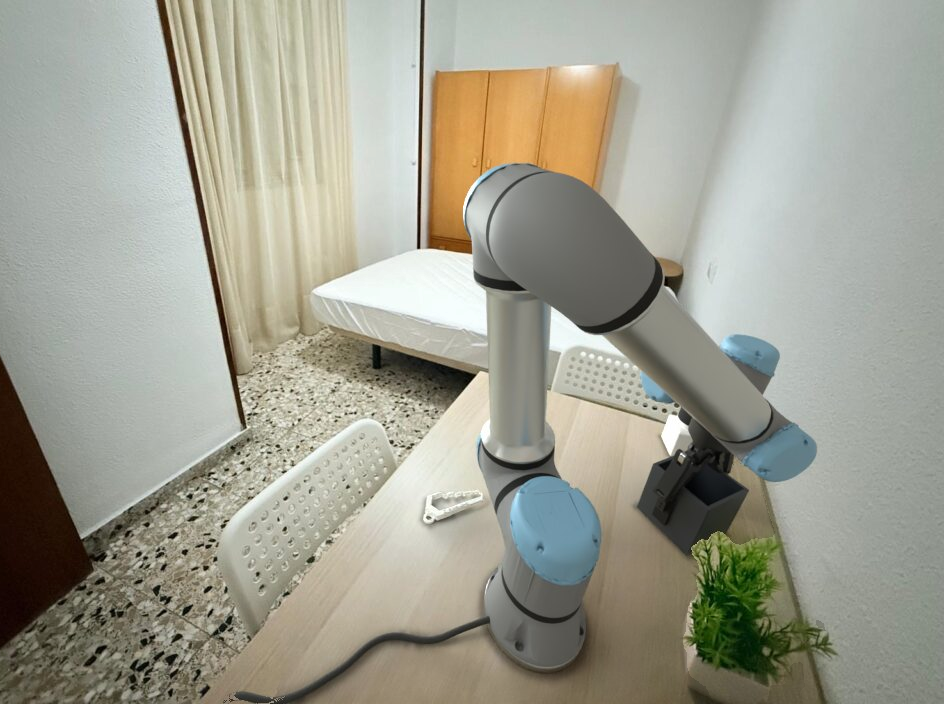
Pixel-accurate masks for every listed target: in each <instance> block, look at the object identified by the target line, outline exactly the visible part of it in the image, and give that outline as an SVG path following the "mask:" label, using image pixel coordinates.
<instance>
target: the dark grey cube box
mask: <svg viewBox="0 0 944 704" xmlns="http://www.w3.org/2000/svg"><path fill="white" fill-rule="evenodd" d="M684 452H685V451H684ZM673 458H674V456H669V457H666V458H663V459H661V460H658V461H656V462H653V463H652V466H651V468H650V471H649V473H648V476H647V479H646V481H645V485H644V487H643V490H642V493H641V495H640V498H639V501H638V503H637V506H636V509H638V510H639V511H640V512H641V513H642V514H643V516H645V517H646V518H647V519H648V520H649V521H650V522H651V523H652V524H653V525H654V526H655V527H656V528H657V529H658V530H659V531H660V532H661V533H662V534H663V535H664V536H665V537H666V538H667V539H668V540H669V541H670V542H672V544H673V545H674V546H676V547H677V549H679V551H680V552H681V553H683V554H684V555H685V556H689V555H690V554H692V553H693V552H692V550H691V547H692V546H693V545H695V544H697V542H698V541H699V540H701V539H704V540H708V539H709V537H710V536H711V534H713V533H715V532H717V531H720V532H723V533H724V534H726V535H727V533H728V531H729V529H730V527H731V526H732V524H733V521H734V520H735V518H736V517H737V514H738V513H739V510H740V509H741V507H742V505H743V503H744V502H745V499H746V498H747V496H748V495H749V492H750V489H748V488H747V487H746V486H744V484H742V483H740V482H739V481H737V480H736V479H735V478H734V477H732V476H731V475H729V474H727V473H725V472H724V471H722V470H720V471H719V473H717V472H716V471H715V470H713V469H712V468H711V467H709V466H708V465H707V466H706V467H705V468H704V469H703V471H702V472H701V473H700V474H695V475H694V476H693V477H692V479H691V480H690V481H689V482H688V483H687V485H686V486H685V487H682V488H681V490H680V493H679V494H678V496H677V497H676V498H675V499H676V500H677V502H676V504H675V507H674V509H673V511H672V513H671V516H670V518H669V520H668V523H667V525H665V526H664V525H663V524H662V523H660V522H659V521H658V520H657V519H656V518H655V517H654V516H653V515H652V513H653V510H654V508H655V505H656V503H657V500H658V498H659V497H658V496H657V495H656V494H655V493H654V492H653V489H654V488H655V486H656V485H657V483H658V482H659V480H660V479H661V477H662V475H663V474H664V472H665V471H666V469H667V468H668V466H669V465H670V463H671V461H672V460H673ZM692 465H693V466H695V467H696V468H697V467H698V466H697V465H696V464H695V463H693V464H692Z"/></svg>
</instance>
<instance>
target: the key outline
mask: <svg viewBox="0 0 944 704" xmlns="http://www.w3.org/2000/svg"><path fill="white" fill-rule="evenodd" d="M478 494H479V495H480V496H478V497H475V498H472V499H469V500H466V501H463V502H460V503H458V504H455V505H452V506H449V507H446V508H444V509H440V510H439V509H438V508H436V507H435V506H433V505H432V502H433V501H434V500H438V499H440V498H443V499H444V500H447V499H449V498H454V499H457V498H458V497H461V496H462V497H465V496H468V495H469V496H470V495H478ZM483 501H484V493H483V492H482V491H479V490H478V489H473V490H472V489H471V490H465V491H462V490H459V491H456V492H454V491H453V490H452V491H448V492H446V493H444V492H443V491H437V492H434V493H430V494H428V495H427V496H426V501H425V507H424V514H423V516H422V517H423V518H422V520H423V522H424V523H425V524H427V525H431V524H433V523H434V522H435V521H440V520H443V519H446V518H448V517H451V516H452V515H454V514H458V513H460V512H462V511H464V510H466V509H469V508H470V507H472V506H475V505H478V504H480V503H483ZM428 517H430V518H431V519H427V518H428Z"/></svg>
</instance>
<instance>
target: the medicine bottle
mask: <svg viewBox="0 0 944 704" xmlns="http://www.w3.org/2000/svg"><path fill="white" fill-rule="evenodd" d="M691 419H692V417H691V416H690V415H689V414H688V413H687V412H686V411H685V410H684V409H683V408H682V407H681V406H680V409H679V411H678V413H677V414H668V417H667V420H666V422H665V425H664V429H663V430H662V433H661V435H660V436H661V439H662V441H663V443H664V446H665V448H666V450H667V453H668V455H669V457H671V456H674V455H675V452H676V451H677V450H678V449H681V450H682V451H687V449H688V446H689V445H690V443H691V442H693V440H692V438H691V435H690V434H689V431H688V427H689V424H690V421H691Z"/></svg>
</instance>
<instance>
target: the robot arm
mask: <svg viewBox="0 0 944 704" xmlns="http://www.w3.org/2000/svg"><path fill="white" fill-rule="evenodd" d="M462 213H463V214H462V215H463V216H462V217H463V225H464V227H465V231H466V233H467V235H468V237H469V238H470V239H471V251H472V252H471V253H472V269H473V274H472V275H473V281H474V283H475V284H476V285H477V286H479V287H480V288H481V289H482V290H484V291H485V308H486V309H485V310H486V339H487V368H488V369H487V370H488V371H487V372H488V391H489V392H488V397H489V419H487V420H486V422H485V423H484V424H483V426H482V429H481V431H480V433H479V435H478V437H477V440H476V449H475V450H476V458H477V464H478V468H479V469H480V471H481V475H482V477H483V479H484V483H485V485H486V489H487V491H488V495H489V497H490V500H491V505H492V507H493V510H494V513H495V517H496V519H497V523H498V526H499V528H500V531H501V535H502V538H503V542H504V552H503V558H502V562H501V563H500V564H499V565H498V566H497V567H496V568H495V570H494V571H493V572H492V573H491V575H490V577H489V579H488V581H487V583H486V586H485V591H484V598H483V617H480V618H478V619H475V620H473V621H469V622H466V623H464V624H462V625H459V626H457V627H455V628H452V629H450V630H448V631H445V632H444V633H440V634H438V635H437V634H436V635H432V636H420V635H415V634H411V633H405V632H395V631H394V632H388V633H383V634H381V635H378V636H376V637H373V638H372V639H371V640H369V641H367V642H366V643H365V644H364V645H362V646H361V647H360V648H359V649H358V650H357V651H356V652H354V653H353V654H352V655H351V656H350V657H349V658H347V660H345V661H344V662H343V663H342V664H340V665H338V666H337V667H336V668H334V669H333V670H331V671H330V672H328V673H326V674H325V675H323V676H322V677H319V678H318V679H316V680H315V681H313V682H311V683H310V684H308V685H306V686H305V687H302V688H301V689H298V690H296V691H293V692H290V693H287V694H283V695H280V696H279V695H278V696H272V697H273V699H271V698H270V697H271V696H267V695H261V694H257V693H254V692H251V691H250V692H249V691H244V690H243V691H242V690H239V692H238V691H235V692H236V694H235V695H234V696H235V697H236V698H238V699H239V700H238V701H242V700H244V702H247V701H248V703H251V704H256V703H257V704H258V703H269V702H271V701H274V703H270V704H288V703H289V704H290V703H292V702H294V701H297V700H300V699H302V698H304V697H306V696H308V695H310V694H311V693H313V692H315V691H316V690H318V689H320V688H321V687H323V686H324V685H326V684H328V683H329V682H331V681H332V680H334V679H335V678H337V677H338V676H340V675H342V674H343V673H344V672H346V671H347V670H348V669H349V668H350V667H352V666H353V665H354V664H355V663H357V662H358V660H359V659H360V658H361V657H363V655H365V654H366V653H367V652H369V650H371V649H373V648H374V647H376V646H377V645H379V644H382V643H384V642H388V641H403V642H409V643H414V644H418V645H419V644H420V645H433V644H439V643H443V642H445V641H447V640H450V639H452V638H454V637H457V636H459V635H460V634H462V633H463V634H464V633H466V632H468V631H471V630H473V629H476V628H479V627H482V626H485V625H486V627H487V630H488V632H489V634H490V636H491V638H492V639H493V641H494V643H495V645H496V646H497V647H498V648H499V650H500V651H501V652H502V653H503V654H504V655H505V656H506V657H507V658H508V659H509V660H510V661H512V662H514V663H515V664H516V665H518V666H519V667H522V668H524V669H526V670H528V671H532V672H535V673H541V674H551V673H556V672H557V673H558V672H560V671H563V670H565V669H566V668H567V667H569V666H570V665H571V664H572V663H574V661H575V660H576V659H577V657H578V656H579V654H580V653H581V651H582V648H583V644H584V641H585V638H586V633H587V632H586V631H587V618H586V612H585V606H584V601H583V600H584V597H585V595H586V591H587V589H588V587H589V583H590V581H591V579H592V576H593V573H594V570H595V569H596V566H597V564H598V563H597V562H598V561H599V558H600V553H601V550H600V548H601V542H602V526H601V522H600V518H599V515H598V512H597V510H596V509H595V506H594V504H593V503H592V501H591V500H590V498H588V497H587V495H586V494H585V493H584V492H582V491H581V489H579V488H578V487H575V488H573V487H572V486H571V483H570V482H569V481H567V480H565V479H563V477H562V476H561V475H560V473H559V471H558V468H557V467H556V463H555V451H556V449H555V448H556V434H555V432H554V429H553V428H552V426H551V425H550V424H549V423H548V422H547V408H548V407H547V405H548V404H547V403H548V388H549V387H548V386H549V385H548V384H549V383H548V382H549V365H550V364H549V363H550V345H551V343H550V342H551V321H552V308H553V309H554V310H555V311H557V312H559V313H560V314H561V315H562V316H564V317H565V318H567V320H569V321H570V322H571V323H573V324H574V325H575V326H576V327H577V328H578V329H579V330H580V331H582V332H583V333H586V334H588V335H593V336H602V337H603V338H604V339H605V340H606V341H608V342H609V344H611V345H612V346H613V347H614V348H615V349H617V350H618V351H619V353H621V354H622V355H623V356H624V357H625V358H626V359H627V360H629V361H630V362H631V363H632V364H633V365H634V366H635V367H636V368H638V369H639V371H640V381H641V386H642V389H643V391H644V392H645V394H646V395H647V396H648V398H649V399H651V400H652V401H654V402H657V403H664V404H669V405H670V404H673V403H674V404H677V405H678V406H679V407H680V408H681V407H682V408H683V409H684V410H685V411H686V412H687V413H688V414H689V415H690V416H691V417H692V419H691V421H690V424H689V427H688V431H689V434H690V435H691V438H692V440H693V442H691V443H690V445H689V446H688V449H687V451H685V452H684V451H682V450H681V449H678V450H677V451H676V452H675V455H674V458H673V460H672V461H671V463H670V465H669V466H668V468H667V469H666V471H665V472H664V474H663V475H662V477H661V479H660V480H659V482H658V483H657V485H656V486H655V488H654V489H653V492H654V493H655V494H656V495H657V496H658V497H659V498H658V500H657V503H656V505H655V508H654V510H653V513H652V515H653V516H654V517H655V518H656V519H657V520H658V521H659V522H660V523H662V524H663V525H664V526H665V525H667V523H668V520H669V518H670V516H671V513H672V511H673V509H674V507H675V504H676V502H677V500H676V499H675V498H676V497H677V496H678V494H679V493H680V490H681V488H682V487H685V486H686V485H687V483H688V482H689V481H690V480H691V479H692V477H693V476H694V475H695V474H700V473H701V472H702V471H703V469H704V468H705V467H706V466H707V465H708V466H709V467H711V468H712V469H713V470H715V471H716V472H717V473H719V471H720V470H722V471H724V472H725V473H727V474H728V475H729V474H731V471H732V469H733V463H734V458H736V459H737V460H738V461H739V462H740V463H741V464H742V465H743V466H744V467H747V468H748V469H749V470H750V471H751V472H753V473H754V474H755V475H756V476H757V477H758V478H760V479H762V480H763V481H766V482H770V483H771V482H772V483H781V482H786V481H789V480H791V479H794V478H795V477H797V476H798V475H800V474H802V473H803V472H804V471H805V470H807V469H808V468H809V467H810V466H811V465H812V464H813V462H814V461H815V459H816V456H817V453H818V444H817V443H816V440H815V439H814V438H813V437H812V436H811V435H809V434H808V433H807V432H806V431H804V430H803V429H802V428H801V427H800V426H799V424H797V423H796V422H792V420H791V421H790V420H789V419H788V418H787V417H785V416H784V415H783V414H782V413H780V412H779V411H778V410H777V409H776V408H775V407H774V406H773V404H771V402H769V400H768V399H767V398H766V397H765V396H764V393H765V392H766V390H767V388H768V386H769V384H770V382H771V380H772V378H773V377H774V376H776V375H775V371H776V369H777V367H778V364H779V362H780V359H781V353H780V351H779V349H777V347H775V346H774V344H772V343H770V342H768V341H766V340H764V339H761V338H758V337H757V336H751V335H747V334H738V333H735V334H729V335H728V336H726V337H724V338H723V340H722V342H721V344H719V345H718V344H717V343H716V342H715V340H714V339H713V338H712V337H711V336H710V335H709V334H708V333H707V332H706V331H705V330H704V328H703V327H702V326H701V325H700V324H699V322H697V321H696V319H695V318H694V317H693V316H692V315H691V314H690V313H689V312H688V311H687V309H685V307H684V306H683V305H682V304H681V303H680V302H679V301H678V299H677V298H676V297H675V296H674V295H673V294H672V293H671V292H670V291H669V289H668V288H666V286H665V279H666V278H665V277H666V276H665V270H664V268H663V266H662V264H661V263H660V262H659V260H658V259H657V258H656V257H655V256H654V255H653V254H652V253H651V252H650V250H649V249H648V248H647V247H646V246H645V244H644V243H643V242H642V241H641V240H640V238H639V237H638V236H637V235H636V234H635V232H634V231H633V230H632V229H631V228H630V226H629V225H628V224H627V223H626V222H625V220H624V219H623V218H622V217H621V216H620V215H619V214H618V213H617V212H616V210H615V209H614V208H613V207H612V205H610V204H609V202H608V201H606V199H605V198H604V197H603V196H601V194H599V193H598V192H597V191H596V190H595V189H594V188H592V187H591V186H590V185H589V184H587V183H586V182H585V181H583V180H581V179H579V178H577V177H575V176H573V175H570V174H566V173H563V172H558V171H557V172H556V171H553V170H549V169H546V168H542V167H541V166H538V165H536V164H533V163H530V162H526V163H525V162H521V163H519V162H515V163H514V162H513V163H512V162H511V163H510V162H509V163H503V164H499V165H497V166H493V167H492V168H490V169H488V170H487V171H485V172H484V173H483V174H481V175H480V176H479V177H478V178H477V179H476V180H475V181H474V183H473V184H472V185H471V186H470V189H469V190H468V192H467V193H466V197H465V199H464V204H463V211H462ZM693 463H695V464H696V465H697V466H698V467H697V468H696V467H695V466H693V465H692V464H693ZM232 693H233V692H232ZM232 693H230V694H228V695H229V697H230V695H231V694H232ZM266 696H267V697H266ZM284 696H285V697H284ZM278 697H281V698H282V697H284V698H282V699H283V700H282V699H281V698H278ZM276 698H278V700H279V699H280V700H279V701H278V700H277V699H276ZM229 699H230V698H229ZM274 699H276V700H277V702H276V701H275V700H274ZM223 700H224V699H223ZM223 700H222V703H223V704H224V703H225V702H226V701H227V700H226V701H225V700H224V701H225V702H224V701H223ZM230 700H231V701H230ZM230 700H229V701H230V703H232V702H235V701H237V700H233V699H230Z"/></svg>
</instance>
